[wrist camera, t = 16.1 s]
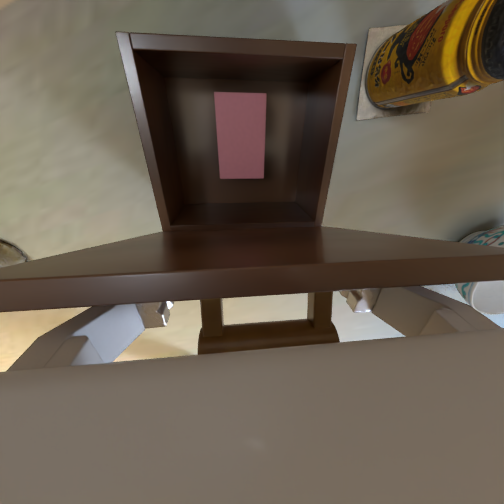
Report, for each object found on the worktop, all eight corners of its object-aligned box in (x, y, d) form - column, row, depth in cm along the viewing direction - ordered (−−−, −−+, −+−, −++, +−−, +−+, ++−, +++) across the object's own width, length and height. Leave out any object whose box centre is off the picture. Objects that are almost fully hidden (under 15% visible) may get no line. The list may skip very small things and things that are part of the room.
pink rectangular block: (216, 98, 20) (213, 91, 17) (261, 99, 20) (266, 93, 17) (221, 173, 23) (220, 179, 20) (259, 173, 24) (263, 178, 21)
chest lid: (-72, 283, 4) (-18, 446, 5) (547, 252, 6) (514, 384, 7) (161, 231, 19) (166, 276, 19) (322, 226, 20) (321, 268, 21)
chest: (155, 68, 19) (114, 31, 12) (314, 74, 20) (357, 43, 14) (180, 208, 26) (163, 233, 19) (298, 205, 27) (320, 228, 20)
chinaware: (513, 259, 36) (576, 286, 30) (429, 295, 39) (470, 327, 32) (526, 186, 29) (614, 201, 22) (422, 236, 32) (473, 263, 25)
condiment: (367, 29, 19) (533, -99, 9) (452, 20, 19) (711, -113, 9) (354, 120, 23) (460, 107, 12) (426, 112, 23) (587, 93, 13)
